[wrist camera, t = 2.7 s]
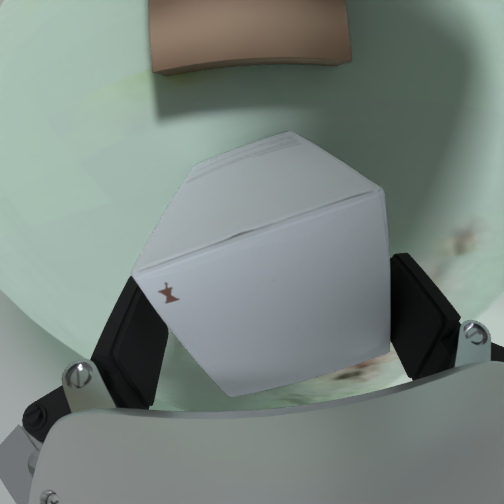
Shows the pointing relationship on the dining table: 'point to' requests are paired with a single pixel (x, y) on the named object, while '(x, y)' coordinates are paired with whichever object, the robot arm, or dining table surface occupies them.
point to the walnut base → (246, 33)
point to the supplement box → (272, 265)
